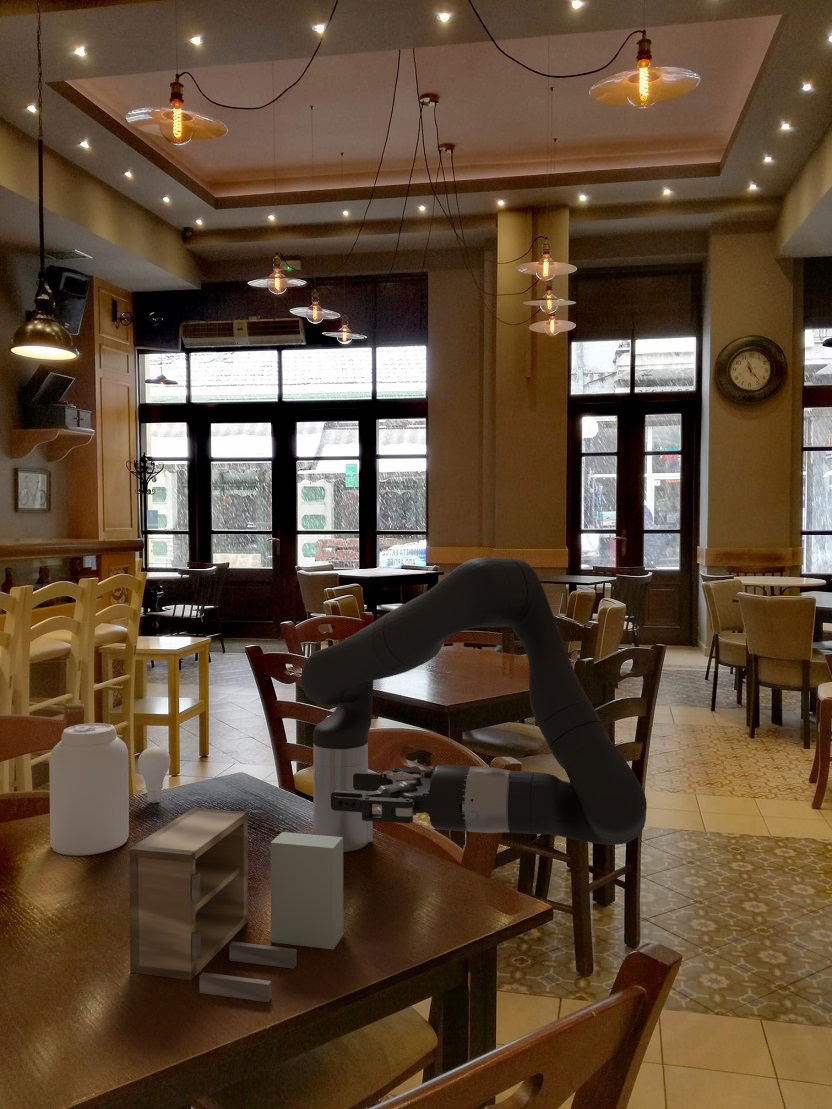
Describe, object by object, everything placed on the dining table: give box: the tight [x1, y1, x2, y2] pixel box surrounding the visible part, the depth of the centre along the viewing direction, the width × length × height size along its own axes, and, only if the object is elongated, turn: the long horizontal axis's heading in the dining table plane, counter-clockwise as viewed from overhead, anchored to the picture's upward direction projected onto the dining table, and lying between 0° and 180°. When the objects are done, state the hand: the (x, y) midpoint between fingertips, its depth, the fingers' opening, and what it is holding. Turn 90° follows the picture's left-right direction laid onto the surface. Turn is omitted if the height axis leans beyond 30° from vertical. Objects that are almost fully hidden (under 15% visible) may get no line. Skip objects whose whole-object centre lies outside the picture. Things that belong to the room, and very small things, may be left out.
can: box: [48, 722, 130, 856], centre depth 148 cm, size 12×12×20 cm
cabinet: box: [128, 807, 297, 1003], centre depth 109 cm, size 18×19×15 cm
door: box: [270, 831, 344, 950], centre depth 114 cm, size 5×8×13 cm, turn 77°
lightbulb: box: [137, 746, 171, 804], centre depth 170 cm, size 6×6×11 cm
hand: (343, 790), depth 108 cm, fingers open, 8 cm apart
